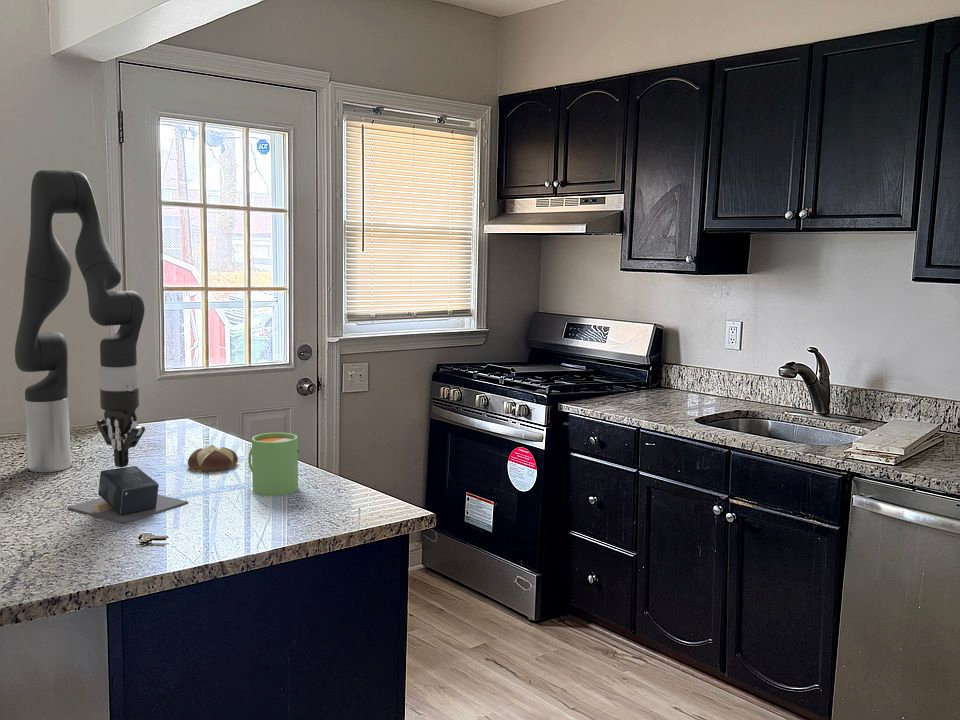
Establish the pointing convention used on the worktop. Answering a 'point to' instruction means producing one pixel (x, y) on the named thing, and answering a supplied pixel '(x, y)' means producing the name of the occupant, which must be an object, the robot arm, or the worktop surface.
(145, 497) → the box
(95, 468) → the worktop surface
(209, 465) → the bread
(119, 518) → the mat
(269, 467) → the mug
